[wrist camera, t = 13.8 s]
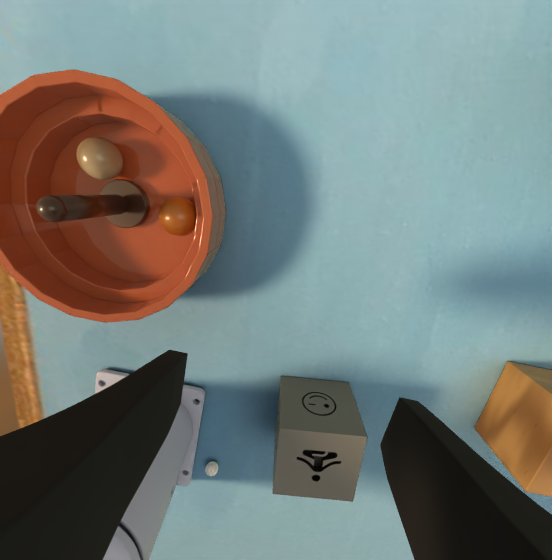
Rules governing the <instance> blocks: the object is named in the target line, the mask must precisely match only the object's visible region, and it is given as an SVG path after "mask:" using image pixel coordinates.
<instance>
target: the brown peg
mask: <svg viewBox="0 0 552 560" xmlns="http://www.w3.org/2000/svg"><path fill="white" fill-rule="evenodd" d="M36 209H37V212H38V214H39V215H40V216H41V217H42V218H43V219H45V220H47V221H50V222H63V221H71V220H79V219H87V218H95V217H103V216H105V218H106V219H107V220H108V221H109V222H111V223H112V224H114V225H115V226H118V227H121V228H131V227H136V226H139V225H140V224H142V223H143V222H144V221H145V220H146V219H147V217H148V215H149V211H150V203H149V199H148V196H147V194H146V192H145V191H144V190H143V189H142V187H141V186H139V185H138V184H136V183H135V182H133V181H130V180H123V179H116V180H112V181H110V182H108V183H107V184H106V185H105V186H104V187H103V188H102V190H101V192H100V195H46V196H43V197H41V198H40V199H39V200H38V202H37V204H36Z"/></svg>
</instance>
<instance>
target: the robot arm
mask: <svg viewBox="0 0 552 560" xmlns="http://www.w3.org/2000/svg"><path fill="white" fill-rule="evenodd" d="M186 361H187V353H182V352H178V351H173V350H168V351H167V352H165V353H163V354H162V355H160V356H158V357H157V358H155V359H154V360H152V361H150V362H149V363H147V364H146V365H144V366H143V367H141V368H139V369H138V370H136V371H134V372H133V373H131V374H127V373H122V372H117V371H112V370H107V369H102V370H100V371H99V372H98V373H97V374H96V389H95V394H94V395H92V396H91V397H89V398H87V399H85V400H83V401H81V402H79V403H77V404H75V405H73V406H71V407H69V408H67V409H65V410H63V411H60V412H58V413H56V414H54V415H51V416H49V417H47V418H45V419H43V420H40V421H38V422H36V423H33V424H31V425H28V426H26V427H23V428H21V429H18V430H16V431H13V432H11V433H8V434H5V435H3V436H0V560H149V557H150V554H151V552H152V549H153V546H154V544H155V541H156V538H157V536H158V533H159V530H160V528H161V525H162V522H163V519H164V517H165V514H166V511H167V509H168V506H169V503H170V501H171V498H172V495H173V493H174V490H175V487H176V485H180V486H188V485H189V484H190V481H191V477H192V471H193V465H194V459H195V453H196V447H197V441H198V435H199V429H200V423H201V417H202V411H203V405H204V399H205V391H204V390H203V389H202V388H199V387H193V386H188V385H183V384H184V376H185V369H186ZM103 381H104V382H105V383H103ZM195 399H198V400H199V401H196V400H195ZM380 445H381V451H382V456H383V461H384V466H385V470H386V475H387V479H388V482H389V485H390V488H391V491H392V494H393V497H394V500H395V503H396V506H397V509H398V512H399V515H400V518H401V521H402V524H403V527H404V530H405V533H406V536H407V539H408V542H409V544H410V547H411V550H412V553H413V556H414V559H415V560H552V515H551V514H550V513H549V512H547V511H546V510H545V509H543V508H542V507H541V506H539V505H538V504H537V503H536V502H534V501H533V500H532V499H531V498H529V497H528V496H527V495H526V494H524V493H523V492H522V491H521V490H519V489H518V488H517V487H516V486H515V485H513V484H512V483H511V482H510V481H509V480H507V479H506V478H505V477H504V476H503V475H501V474H500V473H499V472H498V471H497V470H496V469H494V468H493V467H492V466H491V465H490V464H489V463H487V462H486V461H485V460H484V459H483V458H482V457H481V456H479V455H478V454H477V453H476V452H475V451H474V450H473V449H472V448H470V447H469V446H468V445H467V444H466V443H465V442H464V441H463V440H462V439H460V438H459V437H458V436H457V435H456V434H455V433H454V432H453V431H452V430H450V429H449V428H448V427H447V426H446V425H445V424H444V423H443V422H442V421H440V420H439V419H438V418H437V417H436V416H435V415H434V414H433V413H431V412H430V411H429V410H428V409H427V408H426V407H424V406H423V405H422V404H420V403H419V402H418V401H415V400H410V399H405V398H400V397H399V400H398V402H397V405H396V407H395V410H394V412H393V415H392V417H391V420H390V422H389V424H388V427H387V429H386V432H385V434H384V437H383V439H382V442H381V444H380ZM185 470H186V471H185Z"/></svg>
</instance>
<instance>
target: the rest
mask: <svg viewBox="0 0 552 560" xmlns="http://www.w3.org/2000/svg"><path fill="white" fill-rule="evenodd" d="M475 430H476V431H477V432H478V433H479V435H480V436H481V437H482V438H483V440H484V441H485V442H486V443H487V445H488V446H489V447H490V448H491V449H492V451H493V452H494V453H495V454H496V456H497V457H498V458H499V459H500V461H501V462H502V463H503V464H504V466H505V467H506V468H507V469H508V470H509V472H510V473H511V474H512V475H513V477H514V478H515V479H516V480H517V482H518V483H519V484H520V485H521V487H522V488H523V489H524V490H525V491H526V492H530V493H536V494H541V495H546V496H551V497H552V370H548V369H543V368H538V367H533V366H528V365H524V364H519V363H514V362H509V361H508V362H507V364H506V366H505V368H504V370H503V372H502V374H501V376H500V378H499V380H498V382H497V384H496V386H495V388H494V390H493V392H492V394H491V396H490V398H489V400H488V402H487V404H486V406H485V408H484V410H483V412H482V414H481V416H480V418H479V420H478V422H477V424H476V426H475Z"/></svg>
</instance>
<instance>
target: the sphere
mask: <svg viewBox="0 0 552 560" xmlns="http://www.w3.org/2000/svg"><path fill="white" fill-rule="evenodd" d="M205 471H206V474H207V475H208V476H214V475H216V473H217V472H218V464H217V463H216V462H214V461H211V462H209V463H208V464H207V465H206V469H205Z"/></svg>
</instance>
